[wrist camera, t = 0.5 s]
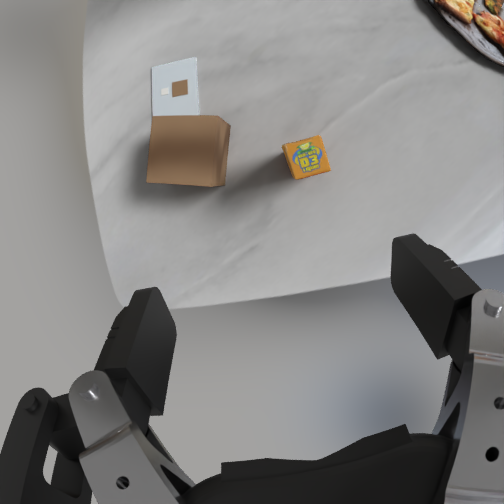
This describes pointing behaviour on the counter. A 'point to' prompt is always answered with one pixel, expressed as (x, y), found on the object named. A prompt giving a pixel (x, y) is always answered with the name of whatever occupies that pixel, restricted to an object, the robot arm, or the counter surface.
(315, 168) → the supplement box
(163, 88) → the page
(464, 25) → the food plate
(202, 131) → the base brick
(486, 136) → the counter surface
